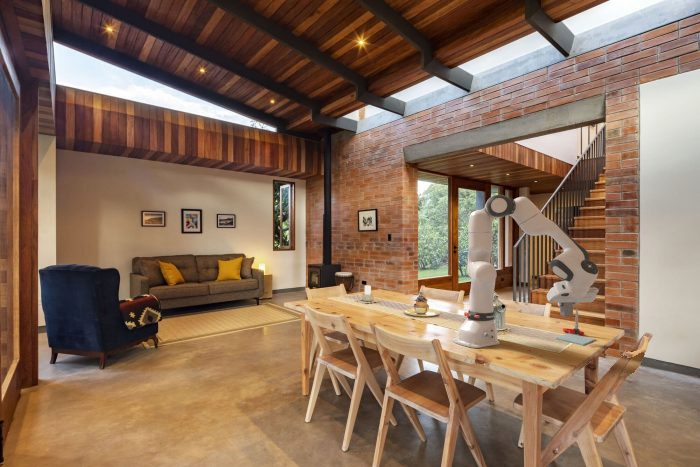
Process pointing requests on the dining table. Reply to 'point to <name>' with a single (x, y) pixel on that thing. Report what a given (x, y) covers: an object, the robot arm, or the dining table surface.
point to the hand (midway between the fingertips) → (565, 305)
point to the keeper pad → (575, 339)
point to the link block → (566, 309)
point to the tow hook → (575, 330)
